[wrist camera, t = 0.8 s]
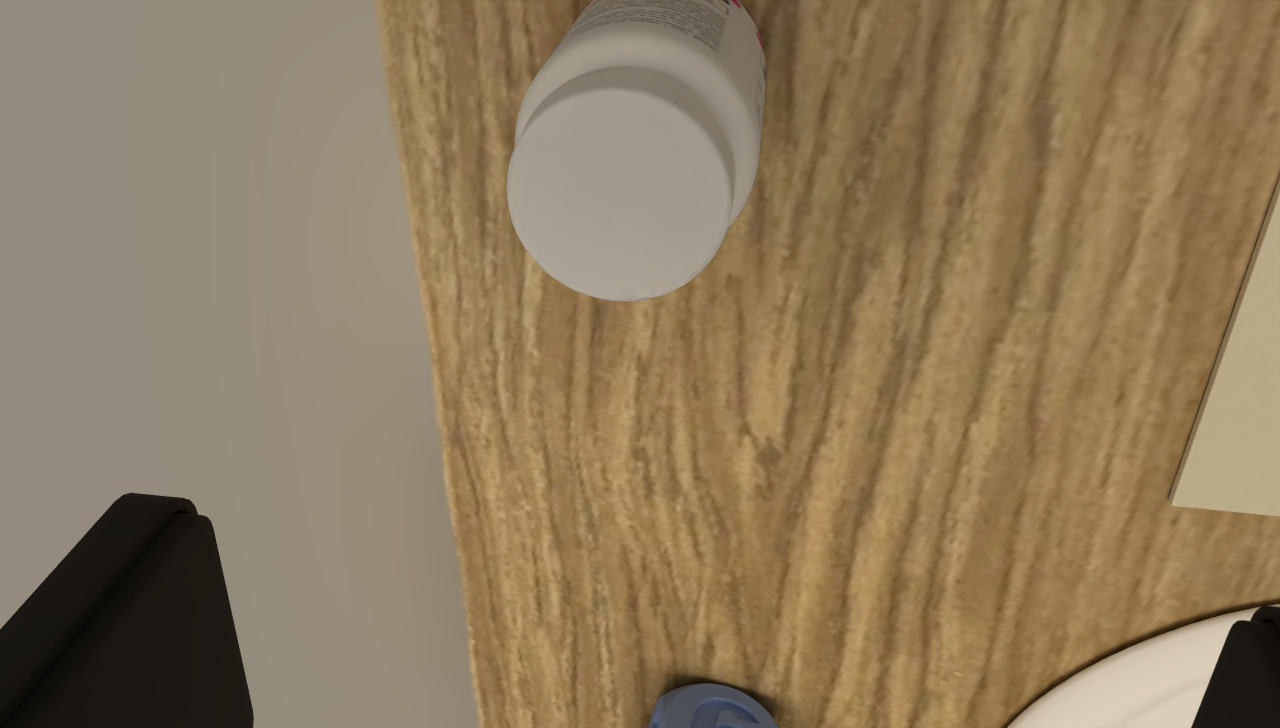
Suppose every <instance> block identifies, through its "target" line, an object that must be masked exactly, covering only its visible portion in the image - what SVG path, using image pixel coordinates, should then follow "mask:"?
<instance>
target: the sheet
mask: <svg viewBox="0 0 1280 728" xmlns="http://www.w3.org/2000/svg"><path fill="white" fill-rule="evenodd" d="M1168 500H1169V503H1170V505H1171V506H1179V507H1189V508H1199V509H1209V510H1219V511H1230V512H1240V513H1250V514H1260V515H1270V516H1280V177H1279V180H1278V183H1277V186H1276V189H1275V192H1274V194H1273V197H1272V200H1271V203H1270V206H1269V209H1268V212H1267V215H1266V218H1265V221H1264V223H1263V226H1262V229H1261V232H1260V235H1259V238H1258V241H1257V244H1256V247H1255V249H1254V252H1253V255H1252V258H1251V261H1250V264H1249V267H1248V270H1247V273H1246V276H1245V278H1244V281H1243V284H1242V287H1241V290H1240V293H1239V296H1238V299H1237V302H1236V304H1235V307H1234V310H1233V313H1232V316H1231V319H1230V322H1229V325H1228V328H1227V330H1226V333H1225V336H1224V339H1223V342H1222V345H1221V348H1220V351H1219V354H1218V357H1217V359H1216V362H1215V365H1214V368H1213V371H1212V374H1211V377H1210V380H1209V383H1208V385H1207V388H1206V391H1205V394H1204V397H1203V400H1202V403H1201V406H1200V409H1199V412H1198V414H1197V417H1196V420H1195V423H1194V426H1193V429H1192V432H1191V435H1190V438H1189V440H1188V443H1187V446H1186V449H1185V452H1184V455H1183V458H1182V461H1181V464H1180V467H1179V469H1178V472H1177V475H1176V478H1175V481H1174V484H1173V487H1172V490H1171V493H1170V495H1169V498H1168Z"/></svg>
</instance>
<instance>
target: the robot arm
mask: <svg viewBox="0 0 1280 728" xmlns="http://www.w3.org/2000/svg"><path fill="white" fill-rule="evenodd" d="M253 719H254V717H253V709H252V704H251V700H250V695H249V690H248V686H247V681H246V676H245V672H244V667H243V663H242V658H241V653H240V649H239V644H238V640H237V635H236V630H235V626H234V621H233V617H232V612H231V607H230V603H229V598H228V594H227V589H226V584H225V580H224V575H223V570H222V566H221V562H220V557H219V552H218V548H217V543H216V538H215V533H214V529H213V526H212V523H211V521H210V520H209V518H208V517H206V516H203V515H198V513H197V510H196V507H195V505H194V504H193V503H192V502H191V501H190V500H188V499H185V498H178V497H167V496H157V495H147V494H136V493H129V494H125V495H122V496H121V497H120V498H119V499H117V500H116V501H115V502H114V503H113V504H112V505H111V507H110V508H109V509H108V510H107V511H106V512H105V513H104V514H103V515H102V517H101V518H100V519H99V520H98V521H97V522H96V523H95V524H94V525H93V527H92V528H91V529H90V530H89V531H88V532H87V533H86V534H85V535H84V537H83V538H82V539H81V540H80V541H79V542H78V543H77V544H76V546H75V547H74V548H73V549H72V550H71V551H70V552H69V553H68V555H67V556H66V557H65V558H64V559H63V560H62V561H61V562H60V563H59V565H58V566H57V567H56V568H55V569H54V570H53V571H52V573H50V575H49V576H48V577H47V578H46V579H45V580H44V581H43V582H42V583H41V585H40V586H39V587H38V588H37V589H36V590H35V592H34V593H33V594H32V595H31V596H30V597H29V598H28V599H27V600H26V601H25V603H24V604H23V605H22V606H21V607H20V608H19V609H18V610H17V611H16V613H15V614H14V615H13V616H12V617H11V618H10V619H9V620H8V622H7V623H6V624H5V625H4V626H3V627H2V628H1V629H0V728H253ZM1191 728H1280V607H1276V606H1262V607H1260V608H1259V609H1258V610H1257V611H1255V613H1254V614H1253V616H1252V618H1251V620H1250V621H1247V620H1238V621H1236V622H1235V623H1234V624H1233V625H1232V627H1231V629H1230V630H1229V633H1228V635H1227V638H1226V640H1225V643H1224V645H1223V648H1222V650H1221V653H1220V655H1219V658H1218V661H1217V663H1216V666H1215V668H1214V671H1213V673H1212V676H1211V678H1210V681H1209V683H1208V686H1207V689H1206V691H1205V694H1204V696H1203V699H1202V701H1201V704H1200V706H1199V709H1198V712H1197V714H1196V717H1195V719H1194V722H1193V724H1192V727H1191Z"/></svg>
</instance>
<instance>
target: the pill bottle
mask: <svg viewBox="0 0 1280 728" xmlns="http://www.w3.org/2000/svg"><path fill="white" fill-rule="evenodd" d="M766 80H767V67H766V58H765V53H764V48H763V44H762V41H761V38H760V35H759V32H758V30H757V28H756V26H755V24H754V22H753V20H752V18H751V17H750V15H749V14H748V12H747V11H746V9H745V8H744V7H743V6H742V5H741V3H740V2H739V1H738V0H592V1H591V2H590V3H589V4H588V5H587V6H586V8H585V9H584V10H583V12H582V13H581V15H580V16H579V17H578V19H577V20H576V21H575V23H574V24H573V25H572V27H571V28H570V30H569V31H568V32H567V34H566V35H565V36H564V38H563V39H562V41H561V42H560V43H559V45H558V46H557V47H556V49H555V50H554V51H553V53H552V54H551V55H550V57H549V58H548V59H547V61H546V62H545V63H544V65H543V66H542V68H541V69H540V70H539V72H538V73H537V75H536V76H535V78H534V79H533V81H532V83H531V84H530V86H529V88H528V90H527V92H526V95H525V97H524V100H523V102H522V104H521V108H520V111H519V114H518V119H517V124H516V131H515V148H514V151H513V154H512V156H511V160H510V164H509V168H508V175H507V201H508V207H509V212H510V216H511V220H512V223H513V226H514V228H515V230H516V232H517V235H518V237H519V239H520V241H521V242H522V244H523V246H524V247H525V249H526V250H527V252H528V253H529V254H530V256H531V257H532V258H533V259H534V260H535V261H536V263H537V264H538V265H539V266H540V267H541V268H542V269H544V270H545V271H546V272H547V273H548V274H549V275H550V276H551V277H553V278H554V279H556V280H557V281H559V282H560V283H562V284H563V285H565V286H567V287H569V288H571V289H573V290H576V291H578V292H580V293H583V294H586V295H589V296H592V297H596V298H600V299H604V300H611V301H640V300H646V299H651V298H655V297H658V296H661V295H664V294H667V293H669V292H671V291H673V290H675V289H677V288H680V287H682V286H683V285H685V284H686V283H688V282H689V281H690V280H692V279H693V278H694V277H695V276H697V275H698V274H699V273H700V272H701V271H702V270H703V269H704V268H705V267H706V266H707V265H708V264H709V262H710V261H711V260H712V259H713V257H714V256H715V254H716V252H717V251H718V249H719V247H720V245H721V244H722V242H723V239H724V237H725V234H726V232H727V229H728V228H729V227H730V226H731V225H732V224H733V222H734V221H735V220H736V218H737V217H738V215H739V214H740V212H741V211H742V209H743V207H744V206H745V203H746V201H747V199H748V197H749V195H750V192H751V190H752V187H753V184H754V181H755V177H756V173H757V169H758V162H759V156H760V146H761V137H762V124H763V114H764V104H765V92H766Z"/></svg>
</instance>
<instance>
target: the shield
mask: <svg viewBox="0 0 1280 728" xmlns="http://www.w3.org/2000/svg"><path fill="white" fill-rule="evenodd" d="M1269 606H1276V607H1280V604H1275V605H1269ZM1259 608H1260V607H1256V608H1252V609H1247V610H1242V611H1238V612H1233V613H1228V614H1224V615H1220V616H1217V617H1213V618H1210V619H1206V620H1203V621H1199V622H1196V623H1193V624H1189V625H1187V626H1184V627H1181V628H1178V629H1175V630H1172V631H1170V632H1167V633H1164V634H1161V635H1158V636H1156V637H1153V638H1151V639H1148V640H1146V641H1143V642H1141V643H1138V644H1136V645H1133V646H1131V647H1129V648H1126V649H1124V650H1122V651H1120V652H1118V653H1116V654H1114V655H1111V656H1109V657H1107V658H1105V659H1103V660H1101V661H1099V662H1097V663H1095V664H1093V665H1092V666H1090V667H1088V668H1086V669H1084V670H1082V671H1081V672H1079V673H1077V674H1075V675H1074V676H1072V677H1070V678H1069V679H1067V680H1066V681H1064V682H1063V683H1061V684H1059V685H1058V686H1056V687H1055V688H1053V689H1052V690H1050V691H1049V692H1048V693H1046V694H1045V695H1043V696H1042V697H1041V698H1039V699H1038V700H1036V701H1035V702H1034V703H1033V704H1032V705H1030V706H1029V707H1028V708H1027V709H1026V710H1024V711H1023V712H1022V713H1021V714H1020V715H1019V716H1018V717H1017V718H1016V719H1015V720H1014V721H1013V722H1012V723H1011V724H1010V725H1009V726H1008V727H1007V728H1191V727H1192V724H1193V722H1194V719H1195V717H1196V714H1197V712H1198V709H1199V706H1200V704H1201V701H1202V699H1203V696H1204V694H1205V691H1206V689H1207V686H1208V683H1209V681H1210V678H1211V676H1212V673H1213V671H1214V668H1215V666H1216V663H1217V661H1218V658H1219V655H1220V653H1221V650H1222V648H1223V645H1224V643H1225V640H1226V638H1227V635H1228V633H1229V630H1230V629H1231V627H1232V625H1233V624H1234V623H1235V622H1236V621H1238V620H1247V621H1250V620H1251V618H1252V616H1253V614H1254V613H1255V611H1257V610H1258V609H1259Z"/></svg>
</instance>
